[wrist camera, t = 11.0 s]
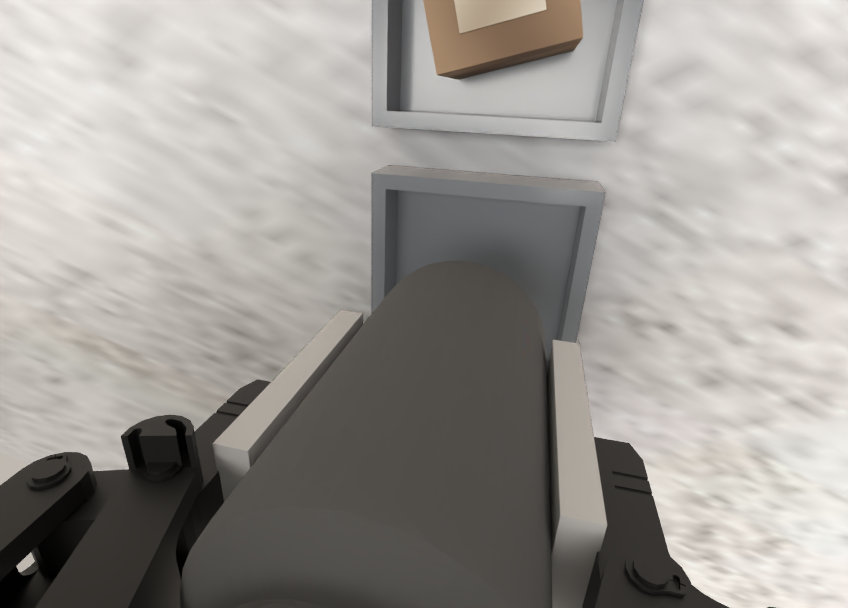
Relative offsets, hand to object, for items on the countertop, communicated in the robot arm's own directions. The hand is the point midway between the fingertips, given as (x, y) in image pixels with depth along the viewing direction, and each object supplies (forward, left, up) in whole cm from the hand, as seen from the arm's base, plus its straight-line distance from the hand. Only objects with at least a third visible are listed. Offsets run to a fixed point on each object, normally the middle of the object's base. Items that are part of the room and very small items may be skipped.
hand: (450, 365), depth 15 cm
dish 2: (0, 0, -9) cm, 9 cm away
